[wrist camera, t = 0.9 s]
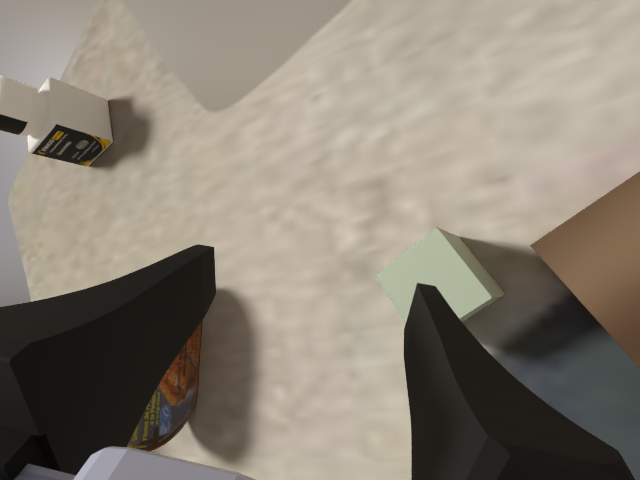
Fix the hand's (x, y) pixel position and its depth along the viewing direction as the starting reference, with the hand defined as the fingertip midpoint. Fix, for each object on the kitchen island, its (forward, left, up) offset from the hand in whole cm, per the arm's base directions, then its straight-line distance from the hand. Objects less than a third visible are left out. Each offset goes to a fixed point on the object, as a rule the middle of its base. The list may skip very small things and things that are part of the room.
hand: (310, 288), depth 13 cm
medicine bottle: (+43, +26, -14) cm, 52 cm away
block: (-1, -1, -14) cm, 14 cm away
